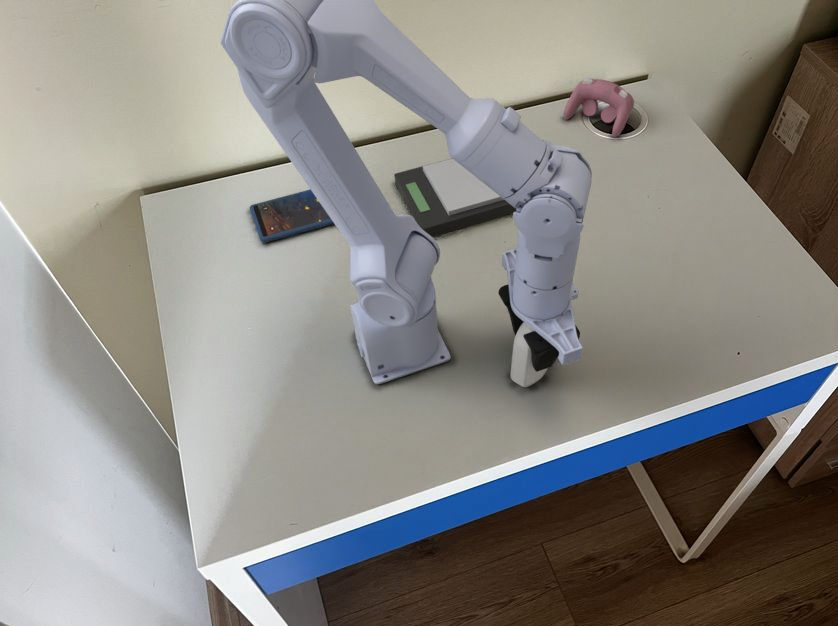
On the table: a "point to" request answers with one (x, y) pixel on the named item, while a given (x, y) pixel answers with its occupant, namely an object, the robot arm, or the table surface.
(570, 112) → the video game controller
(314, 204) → the smartphone
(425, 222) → the scale
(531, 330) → the eye dropper bottle
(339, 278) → the table surface
